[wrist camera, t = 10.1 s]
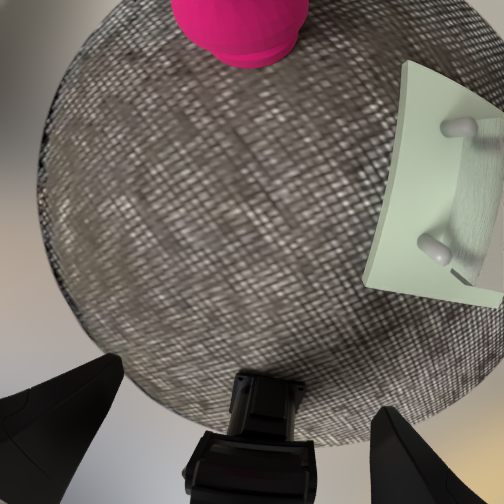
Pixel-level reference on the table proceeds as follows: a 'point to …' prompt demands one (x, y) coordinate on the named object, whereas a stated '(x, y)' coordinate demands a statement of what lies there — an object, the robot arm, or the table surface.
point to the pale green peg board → (425, 189)
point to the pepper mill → (242, 28)
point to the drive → (479, 210)
